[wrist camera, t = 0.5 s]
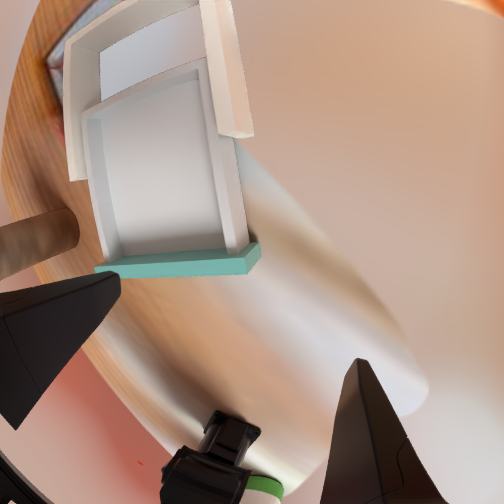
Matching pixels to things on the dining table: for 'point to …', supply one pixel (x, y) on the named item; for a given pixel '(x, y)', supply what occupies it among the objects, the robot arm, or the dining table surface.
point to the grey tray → (166, 181)
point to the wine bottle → (262, 491)
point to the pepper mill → (36, 240)
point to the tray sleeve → (129, 21)
